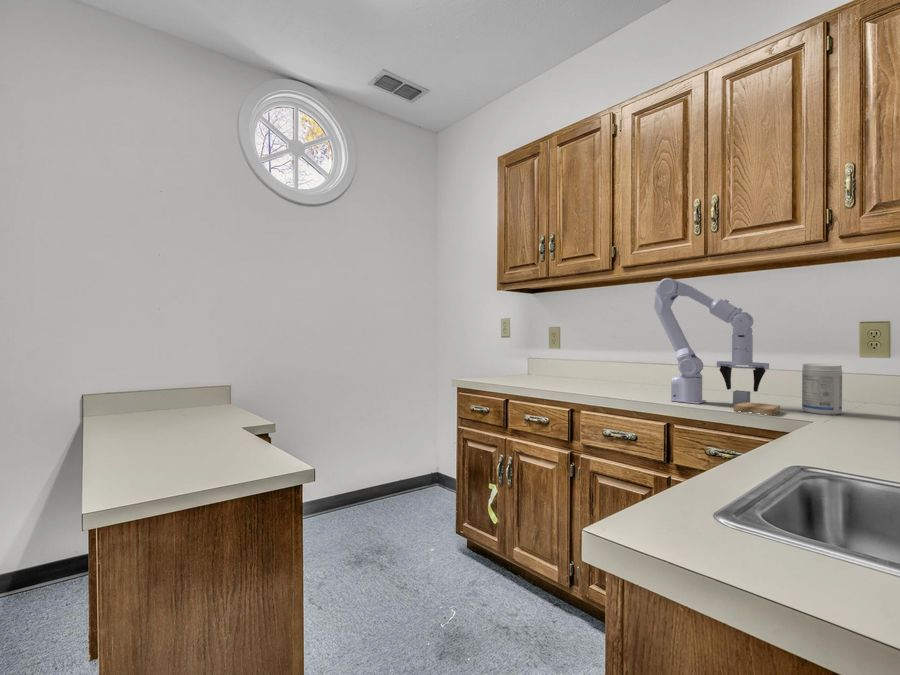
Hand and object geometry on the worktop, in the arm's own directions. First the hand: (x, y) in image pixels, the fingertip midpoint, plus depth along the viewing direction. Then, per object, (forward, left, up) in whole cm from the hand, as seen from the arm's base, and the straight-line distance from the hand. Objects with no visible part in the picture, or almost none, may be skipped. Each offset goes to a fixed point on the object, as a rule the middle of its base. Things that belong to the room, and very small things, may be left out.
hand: (742, 390), depth 151 cm
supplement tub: (+20, +5, -6) cm, 21 cm away
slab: (+6, -8, -5) cm, 11 cm away
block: (0, 0, -5) cm, 5 cm away
